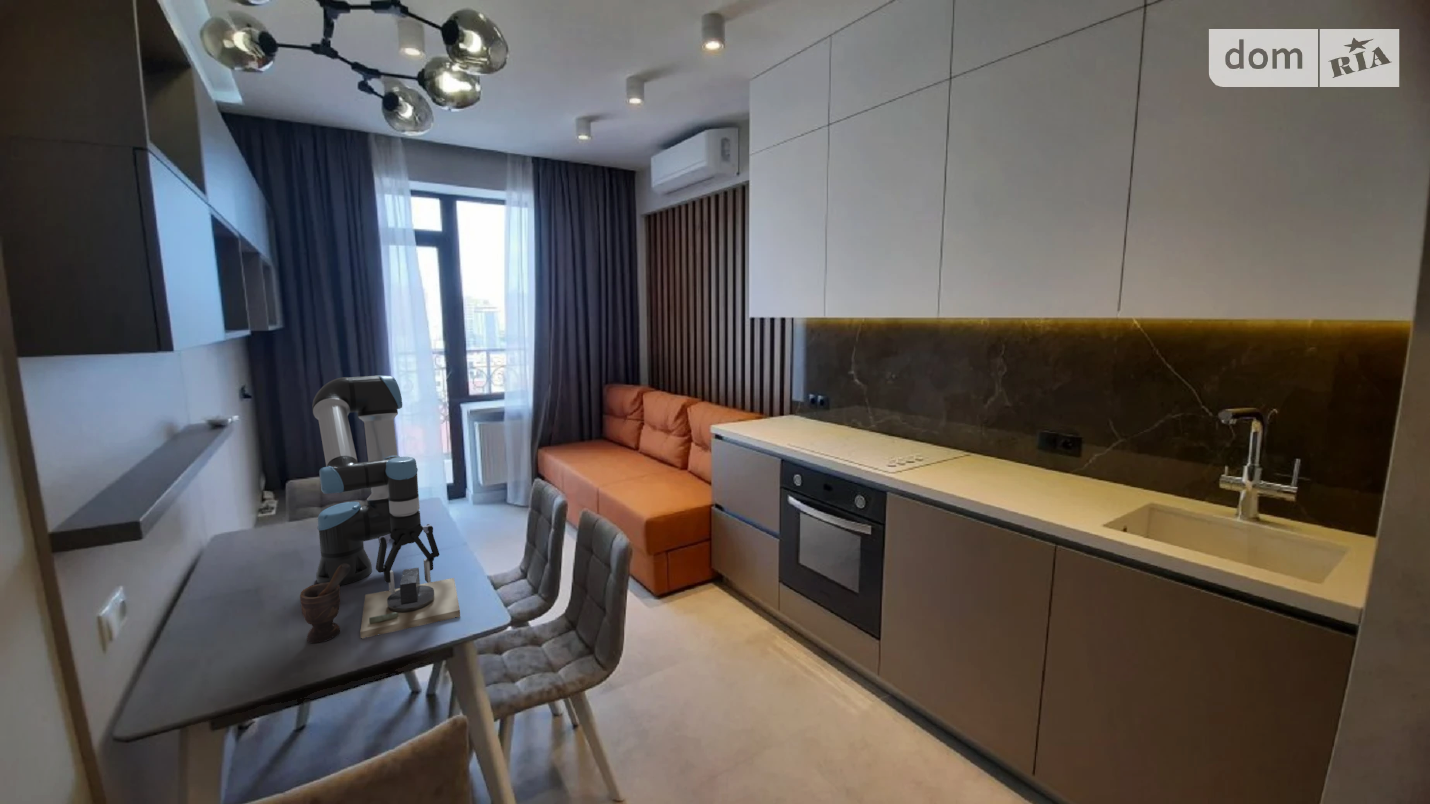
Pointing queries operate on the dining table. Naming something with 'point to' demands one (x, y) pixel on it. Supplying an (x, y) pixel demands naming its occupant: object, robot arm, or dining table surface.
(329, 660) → the dining table surface
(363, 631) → the base plate
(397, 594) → the dial knob
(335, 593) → the mortar and pestle
